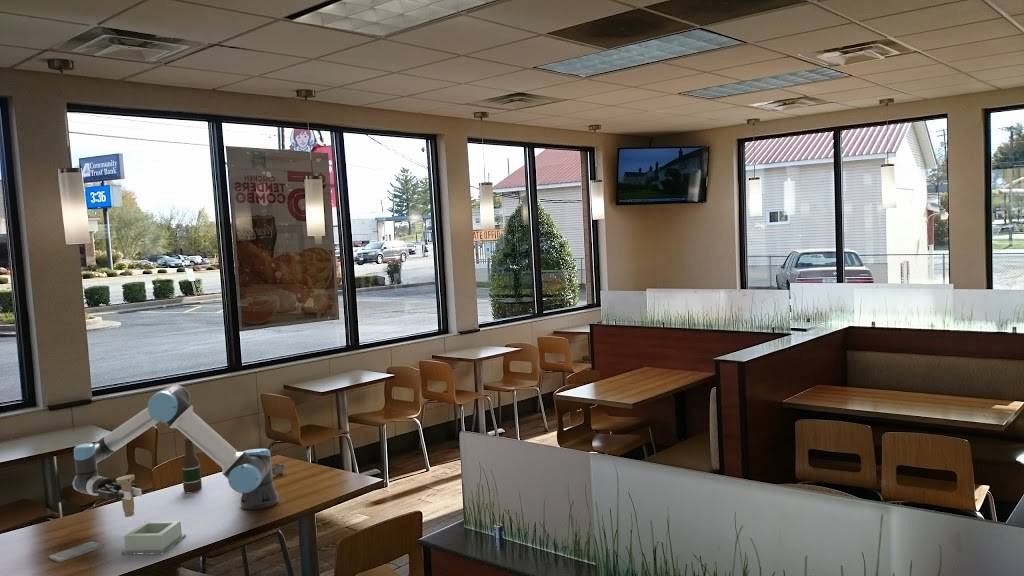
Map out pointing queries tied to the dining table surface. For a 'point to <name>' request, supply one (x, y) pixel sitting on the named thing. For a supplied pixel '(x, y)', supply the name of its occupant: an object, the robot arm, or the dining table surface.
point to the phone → (75, 551)
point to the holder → (153, 537)
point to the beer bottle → (191, 469)
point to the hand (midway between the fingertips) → (135, 494)
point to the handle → (126, 486)
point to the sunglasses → (277, 469)
